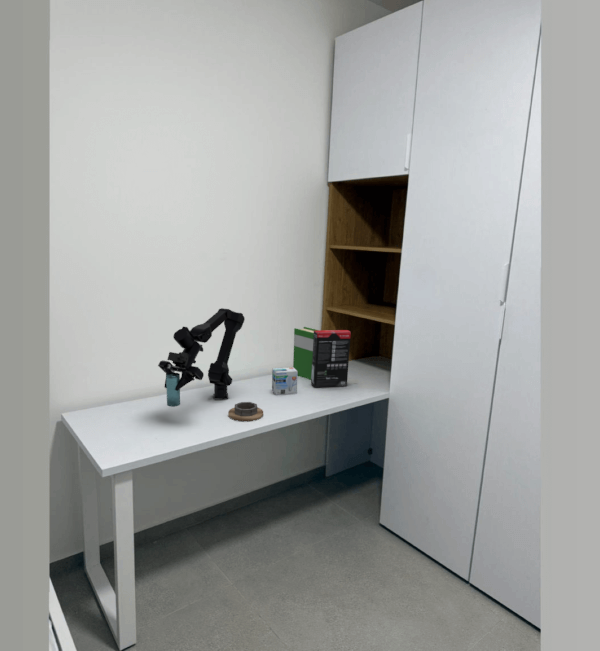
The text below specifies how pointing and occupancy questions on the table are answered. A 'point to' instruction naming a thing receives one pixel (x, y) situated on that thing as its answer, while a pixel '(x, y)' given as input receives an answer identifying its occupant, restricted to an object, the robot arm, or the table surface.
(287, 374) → the light bulb box
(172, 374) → the ball
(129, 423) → the table surface
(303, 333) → the hardback book
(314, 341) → the graphics card box
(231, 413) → the socket dock
